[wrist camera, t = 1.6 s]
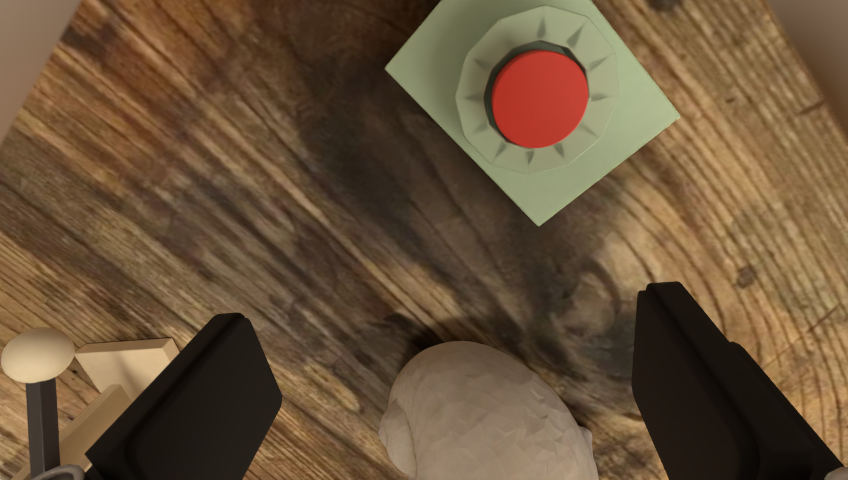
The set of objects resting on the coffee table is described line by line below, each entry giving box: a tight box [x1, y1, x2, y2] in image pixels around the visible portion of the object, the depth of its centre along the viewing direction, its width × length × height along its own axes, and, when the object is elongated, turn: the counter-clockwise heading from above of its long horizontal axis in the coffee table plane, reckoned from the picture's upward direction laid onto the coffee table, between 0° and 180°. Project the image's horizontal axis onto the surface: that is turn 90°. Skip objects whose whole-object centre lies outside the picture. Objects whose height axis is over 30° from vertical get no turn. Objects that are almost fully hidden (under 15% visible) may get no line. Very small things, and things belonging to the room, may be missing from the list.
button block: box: [385, 0, 680, 226], centre depth 19 cm, size 11×8×4 cm
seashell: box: [378, 341, 599, 480], centre depth 27 cm, size 15×14×15 cm
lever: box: [1, 328, 75, 480], centre depth 26 cm, size 13×3×3 cm, turn 10°
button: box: [491, 49, 588, 148], centre depth 17 cm, size 4×4×2 cm
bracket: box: [11, 338, 180, 480], centre depth 29 cm, size 11×8×12 cm
